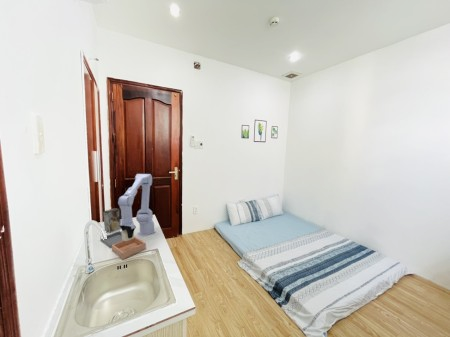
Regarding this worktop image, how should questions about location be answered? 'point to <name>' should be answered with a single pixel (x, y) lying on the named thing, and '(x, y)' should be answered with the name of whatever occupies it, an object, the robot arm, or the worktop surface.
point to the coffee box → (112, 220)
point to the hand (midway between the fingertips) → (128, 236)
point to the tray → (113, 239)
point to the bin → (128, 247)
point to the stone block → (126, 235)
